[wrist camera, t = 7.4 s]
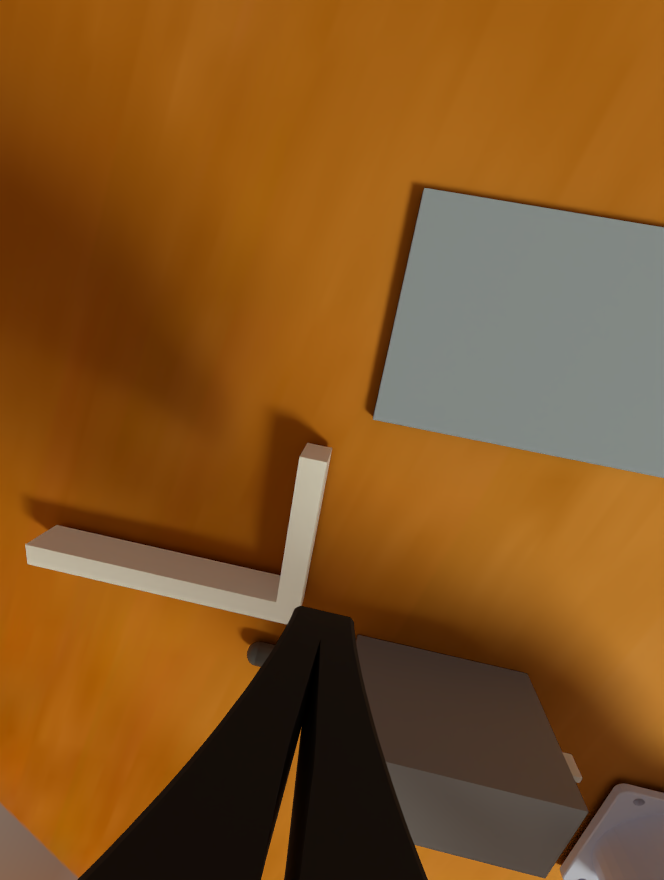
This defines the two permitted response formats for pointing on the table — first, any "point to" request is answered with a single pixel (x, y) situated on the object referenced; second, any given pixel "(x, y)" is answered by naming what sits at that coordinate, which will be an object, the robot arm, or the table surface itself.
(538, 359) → the slate pad
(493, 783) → the lead plug
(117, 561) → the white angled bracket
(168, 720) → the table surface
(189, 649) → the table surface
